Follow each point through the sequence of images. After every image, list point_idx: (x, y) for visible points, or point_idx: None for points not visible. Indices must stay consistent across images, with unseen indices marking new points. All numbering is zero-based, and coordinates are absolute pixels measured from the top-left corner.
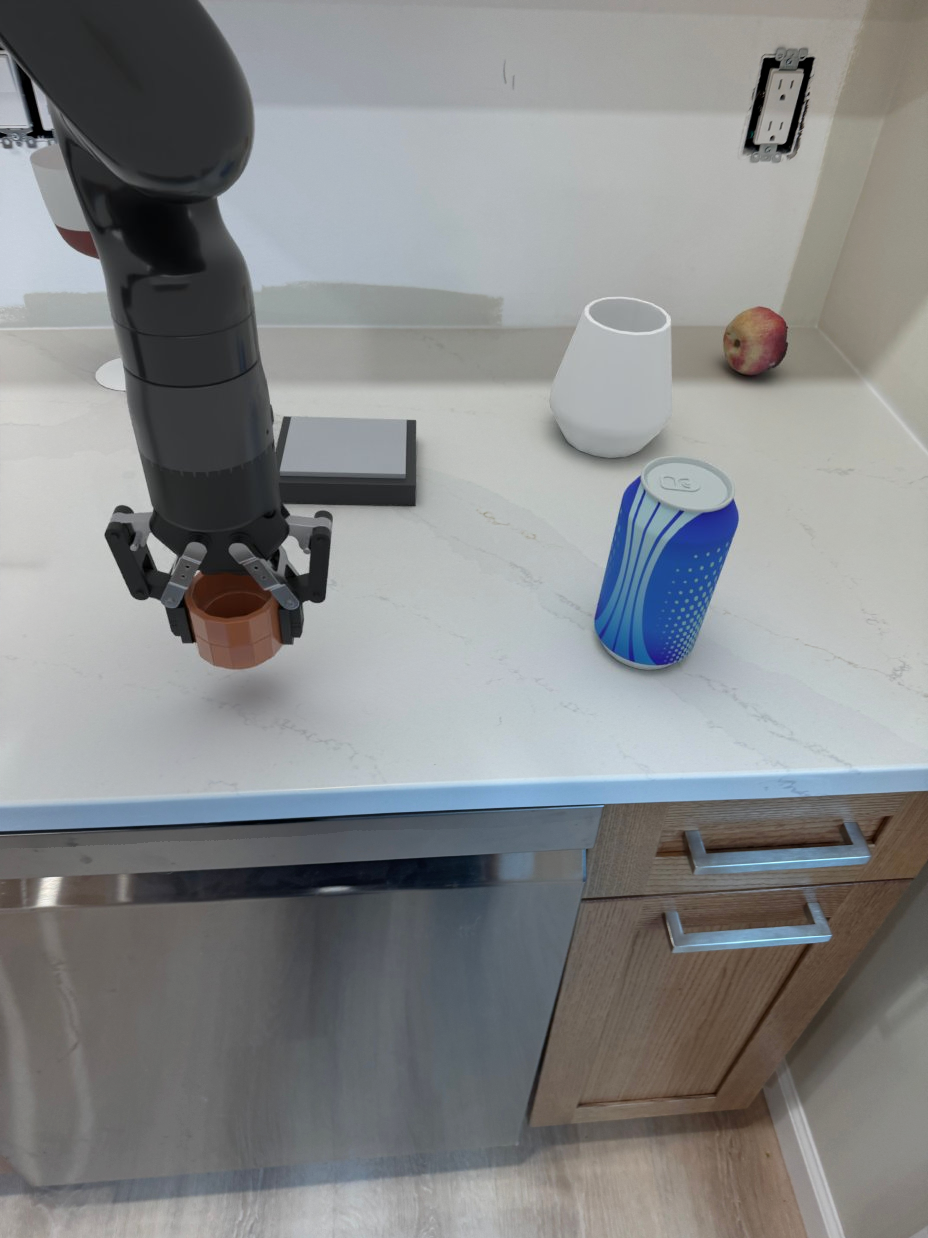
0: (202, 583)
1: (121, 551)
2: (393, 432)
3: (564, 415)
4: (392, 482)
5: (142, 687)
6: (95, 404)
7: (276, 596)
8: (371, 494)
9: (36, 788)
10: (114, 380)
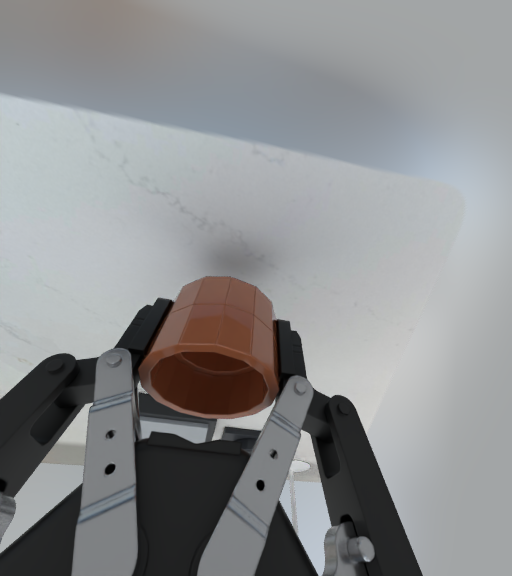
0: (253, 397)
1: (388, 536)
2: None
3: None
4: None
5: (326, 288)
6: (313, 456)
7: (128, 376)
8: (147, 403)
9: (449, 197)
10: (301, 465)
